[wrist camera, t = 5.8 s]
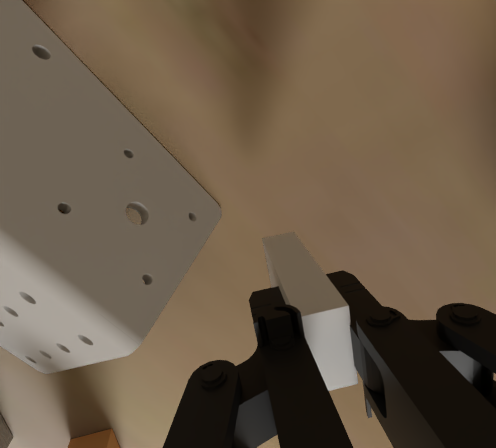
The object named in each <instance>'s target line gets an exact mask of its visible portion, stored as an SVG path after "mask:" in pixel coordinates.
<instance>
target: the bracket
mask: <svg viewBox="0 0 496 448" xmlns="http://www.w3.org/2000/svg"><path fill="white" fill-rule="evenodd" d="M37 56H38V57H37ZM39 57H40V58H39ZM126 208H133V209H135V210H136V211H137V212H138V213H139V214H140V216H141V219H142V223H141V225H138V224H134V223H133V222H131V221H130V220H129V219H128V217H127V215H126ZM58 209H60V210H62V211H63V212H64V213H65V214H62V213H61V212H59V210H58ZM220 218H221V209H220V206H219V205H218V203H217V202H216V201H215V200H214V199H213V198H212V197H211V196H210V195H209V194H208V193H207V192H206V191H205V190H204V189H203V188H202V187H201V186H200V185H199V184H198V183H197V181H196V180H195V179H194V178H193V177H192V176H191V175H190V174H189V173H188V172H187V171H186V170H185V169H184V168H183V167H182V166H181V165H180V164H179V163H178V162H177V161H176V160H175V159H174V158H173V157H172V155H171V154H170V153H169V152H168V151H167V150H166V149H165V148H164V147H163V146H162V145H161V144H160V143H159V142H158V141H157V140H156V139H155V138H154V137H153V136H152V135H151V134H150V133H149V132H148V131H147V129H146V128H145V127H144V126H143V125H142V124H141V123H140V122H139V121H138V120H137V119H136V118H135V117H134V116H133V115H132V114H131V113H130V112H129V111H128V110H127V109H126V108H125V107H124V106H123V105H122V103H121V102H120V101H119V100H118V99H117V98H116V97H115V96H114V95H113V94H112V93H111V92H110V91H109V90H108V89H107V88H106V87H105V86H104V85H103V84H102V83H101V82H100V81H99V80H98V79H97V77H96V76H95V75H94V74H93V73H92V72H91V71H90V70H89V69H88V68H87V67H86V66H85V65H84V64H83V63H82V62H81V61H80V60H79V59H78V58H77V57H76V56H75V55H74V54H73V53H72V52H71V50H70V49H69V48H68V47H67V46H66V45H65V44H64V43H63V42H62V41H61V40H60V39H59V38H58V37H57V36H56V35H55V34H54V33H53V32H52V31H51V30H50V29H49V28H48V27H47V26H46V24H45V23H44V22H43V21H42V20H41V19H40V18H39V17H38V16H37V15H36V14H35V13H34V12H33V11H32V10H31V9H30V8H29V7H28V6H27V5H26V4H25V3H24V2H23V1H22V0H0V346H1V347H3V348H4V349H6V350H7V351H9V352H10V353H12V354H13V355H15V356H16V357H18V358H19V359H21V360H22V361H24V362H25V363H27V364H28V365H30V366H31V367H33V368H34V369H36V370H38V371H40V372H42V373H44V374H50V373H55V372H59V371H63V370H68V369H72V368H76V367H81V366H85V365H89V364H94V363H98V362H103V361H107V360H111V359H116V358H120V357H124V356H128V355H130V354H131V353H133V352H134V351H135V350H136V349H137V348H138V347H139V345H140V344H141V343H142V342H143V340H144V339H145V337H146V336H147V334H148V332H149V331H150V329H151V328H152V326H153V324H154V323H155V321H156V320H157V318H158V317H159V315H160V313H161V312H162V310H163V309H164V307H165V305H166V304H167V302H168V301H169V299H170V298H171V296H172V294H173V293H174V291H175V290H176V288H177V286H178V285H179V283H180V282H181V280H182V278H183V277H184V275H185V274H186V272H187V271H188V269H189V267H190V266H191V264H192V263H193V261H194V259H195V258H196V256H197V255H198V253H199V252H200V250H201V248H202V247H203V245H204V244H205V242H206V240H207V239H208V237H209V236H210V234H211V232H212V231H213V229H214V228H215V226H216V225H217V223H218V221H219V220H220ZM142 279H143V280H144V282H145V284H144V283H143V281H142Z"/></svg>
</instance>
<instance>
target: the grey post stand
mask: <svg viewBox="0 0 496 448" xmlns="http://www.w3.org/2000/svg"><path fill="white" fill-rule="evenodd" d="M12 439H13V436H12V434H11V432H10V430H9V429H8V427H7V425H6V423H5V421H4V420H3V418H2V416H1V414H0V448H7V447H8V446H9V444H10V442H11V440H12Z"/></svg>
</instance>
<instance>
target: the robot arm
mask: <svg viewBox="0 0 496 448" xmlns="http://www.w3.org/2000/svg"><path fill="white" fill-rule="evenodd" d="M262 241H263V246H264V251H265V257H266V262H267V267H268V272H269V277H270V282H271V287H272V288H268V289H264V290H259V291H255V292H253V293H252V295H251V297H250V299H249V303H250V307H251V312H252V317H253V324H254V328H255V333H256V337H257V342H258V346H257V349H256V351H255V353H254V354H253V355H252V356H251V357H250V358H249V359H248V360H246V361H245V362H243V363H241V364H239V365H237V366H235V365H234V364H233V363H231V362H229V361H226V360H216V361H211V362H208V363H206V364H204V365H202V366H200V367H199V368H198V369H197V370H195V371H194V372H193V374H192V375H191V377H190V378H189V380H188V383H187V386H186V388H185V391H184V393H183V396H182V399H181V401H180V404H179V406H178V409H177V412H176V414H175V417H174V420H173V422H172V425H171V427H170V430H169V433H168V435H167V438H166V440H165V443H164V446H163V448H257V447H258V446H259V445H261V444H263V443H264V442H266V441H267V440H269V439H271V438H272V437H274V436H276V435H277V434H278V439H279V444H280V448H353V446H352V444H351V441H350V439H349V437H348V435H347V432H346V430H345V428H344V425H343V423H342V421H341V419H340V416H339V414H338V412H337V409H336V407H335V405H334V403H333V400H332V398H331V396H330V393H329V391H330V390H334V389H338V388H342V387H346V386H351V385H355V384H358V380H357V371H358V373H359V375H360V376H361V378H362V380H363V387H364V396H365V404H366V412H367V416H368V418H370V417H372V413H371V408H372V409H373V411H374V413H375V415H376V417H377V418H378V420H379V422H380V424H381V426H382V427H383V429H384V431H385V433H386V435H387V437H388V438H389V440H390V442H391V444H392V446H393V447H394V448H496V381H494V380H493V374H494V373H496V314H494V313H492V312H489V311H487V310H485V309H483V308H480V307H478V306H475V305H470V304H464V303H452V304H448V305H444V306H442V307H441V308H439V309H438V311H437V314H436V320H408V319H407V318H406V317H405V316H404V315H403V314H402V313H401V312H399V311H398V310H396V309H393V308H390V307H384V306H381V304H380V303H379V302H378V301H377V300H376V299H375V298H374V297H373V296H372V295H371V294H370V292H369V291H368V290H367V289H365V287H364V286H363V285H362V284H361V283H360V282H359V280H358V279H357V278H356V277H355V276H354V275H352V274H350V273H348V272H345V271H338V272H334V273H330V274H325V273H324V272H323V270H322V269H321V267H320V266H319V265H318V263H317V262H316V261H315V259H314V258H313V257H312V255H311V254H310V253H309V251H308V250H307V249H306V247H305V246H304V245H303V243H302V242H301V240H300V239H299V238H298V236H297V235H296V234H295V232H289V233H285V234H280V235H276V236H271V237H267V238H262ZM356 369H357V371H356Z"/></svg>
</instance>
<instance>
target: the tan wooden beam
mask: <svg viewBox="0 0 496 448" xmlns="http://www.w3.org/2000/svg"><path fill="white" fill-rule="evenodd" d="M68 448H120V446H119V444H118V442H117V439H116V437H115V435H114V432H113V430H112V429H108V430H104V431H101V432H97V433H93V434H89V435H85V436H82V437H78V438H74V439H71V440H70V443H69V445H68Z"/></svg>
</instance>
